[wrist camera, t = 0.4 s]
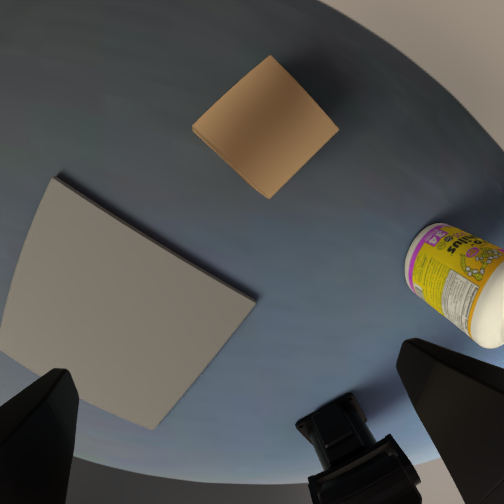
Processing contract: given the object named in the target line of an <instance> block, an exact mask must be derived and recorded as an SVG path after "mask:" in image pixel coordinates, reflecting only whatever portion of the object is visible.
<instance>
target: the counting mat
mask: <svg viewBox="0 0 504 504" xmlns="http://www.w3.org/2000/svg"><path fill="white" fill-rule="evenodd" d="M255 304H256V302H255V299H253V298H251V297H250V296H248V295H246V294H244V293H243V292H241V291H239V290H237V289H236V288H234V287H232V286H230V285H229V284H227V283H225V282H224V281H222V280H220V279H218V278H217V277H215V276H213V275H212V274H210V273H208V272H207V271H205V270H203V269H202V268H200V267H198V266H197V265H195V264H193V263H191V262H190V261H188V260H186V259H185V258H183V257H182V256H180V255H178V254H177V253H175V252H173V251H172V250H170V249H168V248H167V247H165V246H163V245H162V244H160V243H159V242H157V241H155V240H154V239H152V238H150V237H149V236H147V235H146V234H144V233H142V232H141V231H139V230H138V229H136V228H134V227H133V226H131V225H130V224H128V223H126V222H125V221H123V220H122V219H120V218H119V217H117V216H115V215H114V214H112V213H111V212H109V211H108V210H106V209H105V208H103V207H101V206H100V205H98V204H97V203H95V202H94V201H92V200H91V199H89V198H88V197H86V196H85V195H83V194H82V193H80V192H78V191H77V190H75V189H74V188H72V187H71V186H69V185H68V184H66V183H65V182H63V181H62V180H60V179H59V178H57V177H56V176H55V177H52V178H51V181H50V183H49V185H48V187H47V189H46V191H45V193H44V196H43V198H42V200H41V202H40V205H39V207H38V210H37V212H36V214H35V217H34V219H33V222H32V224H31V227H30V229H29V232H28V235H27V237H26V240H25V243H24V246H23V249H22V251H21V254H20V257H19V260H18V264H17V267H16V270H15V273H14V276H13V280H12V283H11V287H10V290H9V294H8V298H7V302H6V306H5V310H4V314H3V319H2V323H1V328H0V350H1V351H3V352H4V353H5V354H7V355H8V356H10V357H11V358H13V359H14V360H16V361H17V362H19V363H20V364H22V365H23V366H25V367H26V368H28V369H30V370H31V371H33V372H34V373H36V374H38V375H39V376H41V377H42V376H43V375H44V374H46V373H47V372H49V371H50V370H51V369H53V368H66V369H68V370H69V371H70V373H71V376H72V378H73V381H74V383H75V386H76V388H77V391H78V394H79V398H81V399H83V400H85V401H87V402H89V403H91V404H93V405H95V406H97V407H99V408H101V409H103V410H105V411H108V412H110V413H112V414H114V415H117V416H119V417H121V418H124V419H126V420H128V421H131V422H133V423H136V424H138V425H141V426H143V427H146V428H148V429H151V430H154V429H155V427H156V426H157V425H158V424H159V423H160V422H161V420H162V419H163V418H164V417H165V416H166V414H167V413H168V412H169V411H170V410H171V408H172V407H173V406H174V405H175V404H176V403H177V401H178V400H179V399H180V398H181V397H182V395H183V394H184V393H185V392H186V390H187V389H188V388H189V387H190V386H191V384H192V383H193V382H194V381H195V380H196V378H197V377H198V376H199V375H200V373H201V372H202V371H203V370H204V369H205V367H206V366H207V365H208V364H209V362H210V361H211V360H212V359H213V357H214V356H215V355H216V354H217V352H218V351H219V350H220V349H221V347H222V346H223V345H224V344H225V342H226V341H227V340H228V339H229V337H230V336H231V335H232V334H233V332H234V331H235V330H236V329H237V327H238V326H239V325H240V324H241V322H242V321H243V320H244V318H245V317H246V316H247V315H248V313H249V312H250V311H251V310H252V308H253V307H254V306H255Z"/></svg>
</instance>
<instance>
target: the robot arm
mask: <svg viewBox="0 0 504 504" xmlns="http://www.w3.org/2000/svg"><path fill="white" fill-rule="evenodd" d="M396 368H397V371H398V374H399V376H400V378H401V380H402V382H403V385H404V387H405V389H406V391H407V393H408V396H409V398H410V400H411V402H412V405H413V407H414V409H415V411H416V413H417V414H418V416H419V418H420V420H421V422H422V423H423V425H424V427H425V429H426V430H427V432H428V434H429V436H430V438H431V439H432V441H433V443H434V445H435V447H436V448H437V450H438V452H439V454H440V456H441V458H442V460H443V461H444V463H445V465H446V467H447V469H448V471H449V473H450V474H451V476H452V478H453V480H454V482H455V484H456V486H457V488H458V490H459V492H460V494H461V496H462V498H463V500H464V502H465V504H504V369H503V368H501V367H498V366H495V365H492V364H489V363H486V362H483V361H480V360H478V359H475V358H472V357H469V356H466V355H463V354H461V353H458V352H455V351H452V350H449V349H447V348H444V347H441V346H438V345H436V344H433V343H430V342H427V341H425V340H422V339H419V338H411V339H407V340H405V341H404V342H403V343H402V346H401V349H400V353H399V356H398V359H397V363H396ZM78 405H79V394H78V391H77V388H76V386H75V383H74V381H73V378H72V376H71V373H70V371H69V370H68V369H66V368H53V369H51V370H50V371H49V372H47V373H46V374H44V375H43V376H42V377H40V378H39V379H37V380H36V381H35V382H33V383H32V384H31V385H29V386H28V387H26V388H25V389H24V390H22V391H21V392H20V393H18V394H17V395H15V396H14V397H13V398H11V399H10V400H9V401H7V402H6V403H4V404H3V405H2V406H0V504H65V503H66V495H67V488H68V482H69V476H70V470H71V464H72V459H73V453H74V445H75V434H76V423H77V414H78ZM366 421H367V419H366V417H365V415H364V413H363V411H362V410H361V408H360V406H359V404H358V402H357V401H356V399H355V397H354V395H353V394H352V393H348V394H346V395H345V396H343V397H341V398H340V399H338V400H336V401H335V402H333V403H331V404H329V405H328V406H326V407H324V408H322V409H321V410H319V411H317V412H315V413H313V414H312V415H310V416H308V417H306V418H304V419H302V420H300V421H298V422H297V423H296V424H295V426H296V428H297V430H298V431H299V432H300V433H301V434H302V435H303V436H304V437H305V438H306V439H307V440H308V441H309V442H310V443H311V444H312V445H313V446H314V448H315V451H316V453H317V455H318V458H319V460H320V462H321V465H322V467H323V469H324V471H323V472H321V473H318V474H316V475H314V476H313V475H312V476H310V477H308V481H309V484H308V487H309V490H310V494H311V498H312V502H313V504H422V497H421V495H420V493H419V492H418V490H417V488H416V485H418V484H419V483H421V480H420V478H419V476H418V474H417V472H416V470H415V468H414V467H413V465H412V463H411V462H410V460H409V459H408V457H407V456H406V455H405V453H404V452H403V451H402V449H401V448H400V447H399V445H398V444H397V442H396V441H395V440H394V438H393V437H392V436H391V434H388V435H387V436H385V438H383V439H382V440H380V441H378V442H377V441H376V440H375V438H374V437H373V435H372V433H371V432H370V430H369V428H368V427H367V425H366Z"/></svg>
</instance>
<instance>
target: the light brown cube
mask: <svg viewBox="0 0 504 504" xmlns="http://www.w3.org/2000/svg"><path fill="white" fill-rule="evenodd" d="M338 131H339V129H338V128H337V126H336V125H335V124H334V123H333V122H332V121H331V119H330V118H329V117H328V116H327V115H326V114H325V112H324V111H323V110H322V109H321V108H320V107H319V106H318V104H317V103H316V102H315V101H314V100H313V99H312V98H311V97H310V95H309V94H308V93H307V92H306V91H305V90H304V89H303V88H302V87H301V86H300V85H299V84H298V83H297V81H296V80H295V79H294V78H293V77H292V76H291V75H290V74H289V73H288V72H287V71H286V70H285V69H284V68H283V67H282V66H281V65H280V64H279V63H278V62H277V61H276V60H275V59H274V58H273V57H272V56H271V55H270V56H268V57H267V58H266V59H265V60H264V61H262V62H261V63H260V64H259V65H258V66H256V67H255V68H254V69H253V70H252V71H250V72H249V73H248V74H247V75H246V76H245V77H244V78H242V79H241V80H240V81H239V82H238V83H237V84H236V85H235V86H233V87H232V88H231V89H230V90H229V91H228V92H227V93H226V94H225V95H224V96H222V97H221V98H220V99H219V100H218V101H217V102H216V103H215V104H214V105H213V106H212V107H211V108H210V109H209V110H208V111H207V112H206V113H205V114H204V115H203V116H202V117H200V118H199V119H198V120H197V121H196V122H195V123H194V124H193V132H194V133H196V134H197V135H198V136H199V137H200V138H201V139H202V140H203V141H204V142H205V143H206V144H207V145H208V146H209V147H211V148H212V149H213V150H214V151H215V152H216V153H217V154H218V155H219V156H220V157H221V158H222V159H223V160H224V161H225V162H226V163H227V164H228V165H229V166H230V167H231V168H233V169H234V170H235V171H236V172H237V173H238V174H239V175H240V176H241V177H242V178H243V179H244V180H245V181H246V182H247V183H248V184H249V185H250V186H251V187H253V188H254V189H255V190H257V191H258V192H260V193H261V194H262V195H264V196H265V197H267V198H268V199H270V198H271V197H272V196H273V195H274V194H275V193H276V192H277V191H278V190H279V189H280V188H281V187H282V186H283V185H284V184H285V183H286V182H287V181H288V180H289V179H290V178H291V177H292V176H293V175H294V174H295V173H296V172H297V171H298V170H299V169H300V168H301V167H302V166H303V165H304V164H305V163H306V162H307V161H308V160H309V159H310V158H311V157H312V156H313V155H314V154H315V153H316V152H317V151H318V150H319V149H320V148H321V147H322V146H323V145H324V144H325V143H326V142H327V141H328V140H329V139H330V138H331V137H332V136H333V135H334V134H335V133H336V132H338Z"/></svg>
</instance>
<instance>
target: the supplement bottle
mask: <svg viewBox="0 0 504 504" xmlns="http://www.w3.org/2000/svg"><path fill="white" fill-rule="evenodd" d="M405 278H406V281H407V284H408V286H409V287H410V289H411V290H412V291H413V292H414V293H415V294H417V295H418V296H419V297H420V298H422V299H423V300H424V301H425V302H427V303H428V304H429V305H431V306H432V307H433V308H434V309H436V310H437V311H438V312H440V313H441V314H442V315H443V316H445V317H446V318H447V319H448V320H450V321H451V322H452V323H454V324H455V325H456V326H457V327H458V328H460V329H461V330H462V331H463V332H464V333H466V334H467V335H468V336H469V337H470V338H472V339H473V340H474V341H475V342H476V343H478V344H479V345H480V346H482V347H484V348H496V347H499V346H501V345H503V344H504V250H503V249H501V248H499V247H497V246H495V245H493V244H491V243H489V242H487V241H485V240H482V239H480V238H478V237H476V236H473V235H471V234H469V233H467V232H464V231H462V230H460V229H458V228H455V227H453V226H450V225H448V224H444V223H436V224H432V225H430V226H428V227H426V228H425V229H423V230H422V231H421V232H420V233H419V234H418V235H417V236H416V238H415V239H414V240H413V242H412V244H411V246H410V248H409V250H408V253H407V256H406V260H405Z"/></svg>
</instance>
